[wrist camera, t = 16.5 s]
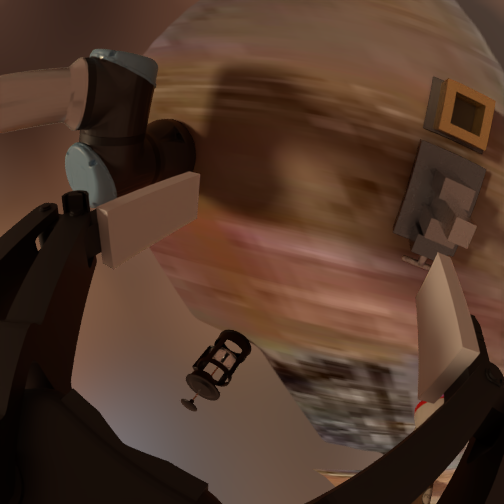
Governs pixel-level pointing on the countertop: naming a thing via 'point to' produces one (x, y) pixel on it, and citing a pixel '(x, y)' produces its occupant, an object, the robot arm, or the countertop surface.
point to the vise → (438, 204)
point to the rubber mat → (460, 115)
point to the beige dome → (426, 410)
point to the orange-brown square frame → (481, 115)
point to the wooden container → (425, 496)
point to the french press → (222, 359)
